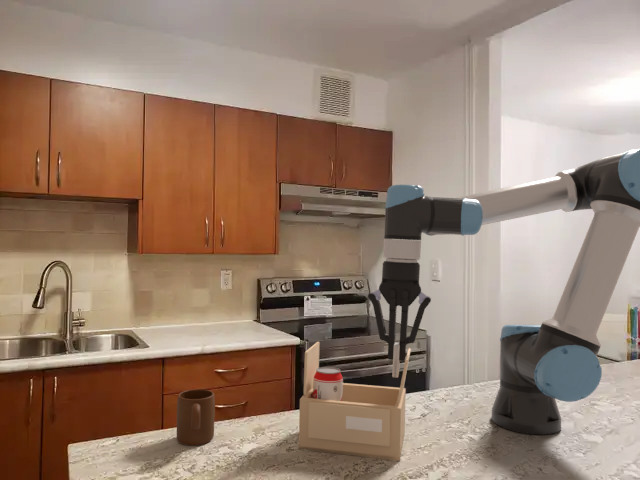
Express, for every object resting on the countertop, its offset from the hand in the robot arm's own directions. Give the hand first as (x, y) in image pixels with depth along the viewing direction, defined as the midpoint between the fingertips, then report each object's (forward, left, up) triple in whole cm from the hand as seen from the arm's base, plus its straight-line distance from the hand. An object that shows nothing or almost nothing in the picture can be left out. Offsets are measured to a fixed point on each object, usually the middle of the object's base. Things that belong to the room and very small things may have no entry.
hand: (395, 375), depth 105 cm
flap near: (-2, 0, 0) cm, 2 cm away
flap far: (+17, 0, 0) cm, 17 cm away
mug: (+39, +10, -15) cm, 43 cm away
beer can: (+14, +1, -16) cm, 21 cm away
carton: (+8, 0, -14) cm, 17 cm away
